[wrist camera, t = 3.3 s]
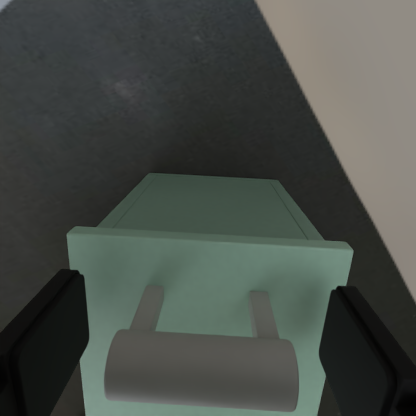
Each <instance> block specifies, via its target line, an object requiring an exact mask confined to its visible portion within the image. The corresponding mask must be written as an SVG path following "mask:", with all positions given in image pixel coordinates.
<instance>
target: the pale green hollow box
mask: <svg viewBox="0 0 416 416" xmlns="http://www.w3.org/2000/svg"><path fill="white" fill-rule="evenodd" d="M97 227H98V228H116V229H133V230H150V231H167V232H184V233H202V234H219V235H236V236H253V237H271V238H288V239H305V240H322V241H325V240H324V239H323V238H322V236H321V235H320V234H319V233H318V231H317V230H316V229H315V227H314V226H313V225H312V224H311V222H310V221H309V220H308V218H307V217H306V216H305V215H304V213H303V212H302V211H301V209H300V208H299V207H298V205H297V204H296V203H295V202H294V200H293V199H292V198H291V196H290V195H289V194H288V193H287V191H286V190H285V189H284V187H283V186H282V185H281V184H280V182H279V181H278V180H271V179H253V178H236V177H218V176H200V175H182V174H164V173H149V174H148V175H147V176H146V177H145V178H144V179H143V180H142V181H141V182H140V183H139V184H138V185H137V186H136V187H135V188H134V189H133V190H132V191H131V192H130V193H129V194H128V195H127V196H126V197H125V198H124V199H123V200H122V201H121V202H120V203H119V204H118V205H117V206H116V207H115V208H114V209H113V210H112V211H111V212H110V214H109V215H108V216H107V217H106V218H105V219H104V220H103V221H102V222H101V223H100V224H99V225H98V226H97Z"/></svg>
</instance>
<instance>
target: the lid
mask: <svg viewBox="0 0 416 416" xmlns="http://www.w3.org/2000/svg"><path fill="white" fill-rule="evenodd" d="M67 243H68V253H69V262H70V270H78V271H79V272H80V274H83V275H84V278H85V289H86V300H87V312H88V323H89V342H88V345H87V347H86V349H85V351H84V353H83V355H82V357H81V358H80V366H81V376H82V385H83V394H84V404H85V413H86V416H317V413H318V408H319V404H320V399H321V395H322V390H323V386H324V381H325V377H326V374H325V372H324V369H323V367H322V364H321V362H320V359H319V346H320V341H321V336H322V332H323V327H324V322H325V317H326V312H327V307H328V302H329V298H330V293H331V290H333V289H336V287H337V286H346V283H347V279H348V274H349V270H350V265H351V261H352V256H353V249H352V248H351V247H350V246H349V245H348V244H347V243H346V242H339V241H322V240H305V239H288V238H271V237H253V236H236V235H219V234H202V233H184V232H167V231H150V230H133V229H116V228H98V227H81V226H75V227H74V228H73V229H71V230H70V231H69V232H68V233H67Z"/></svg>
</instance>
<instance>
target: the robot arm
mask: <svg viewBox="0 0 416 416" xmlns="http://www.w3.org/2000/svg"><path fill="white" fill-rule="evenodd" d="M88 342H89V323H88V312H87V300H86V289H85V278H84V275H83V274H80V272H79V271H78V270H70V269H61V270H60V271H59V272H58V273H57V274H56V275H55V276H54V277H53V278H52V279H51V280H50V281H49V282H48V283H47V284H46V285H45V286H44V287H43V288H42V289H41V291H40V292H39V293H38V294H37V295H36V296H35V297H34V298H33V299H32V300H31V301H30V302H29V303H28V304H27V305H26V306H25V307H24V308H23V310H22V311H21V312H20V313H19V314H18V315H17V316H16V317H15V318H14V319H13V320H12V321H11V322H10V323H9V324H8V325H7V326H6V327H5V329H4V330H3V331H2V332H1V333H0V416H50V414H51V412H52V410H53V409H54V407H55V405H56V403H57V401H58V399H59V397H60V396H61V394H62V392H63V390H64V388H65V386H66V384H67V383H68V381H69V379H70V377H71V375H72V373H73V371H74V370H75V368H76V366H77V364H78V362H79V360H80V358H81V357H82V355H83V353H84V351H85V349H86V347H87V345H88ZM319 359H320V362H321V364H322V367H323V369H324V372H325V374H326V377H327V379H328V382H329V384H330V387H331V389H332V392H333V394H334V397H335V400H336V402H337V405H338V407H339V410H340V412H341V415H342V416H416V366H415V365H414V364H413V362H412V361H411V360H410V358H409V357H408V356H407V354H406V353H405V352H404V350H403V349H402V348H401V346H400V345H399V344H398V342H397V341H396V340H395V338H394V337H393V336H392V334H391V333H390V332H389V330H388V329H387V328H386V326H385V325H384V324H383V322H382V321H381V320H380V319H379V317H378V316H377V315H376V313H375V312H374V311H373V309H372V308H371V307H370V305H369V304H368V303H367V301H366V300H365V299H364V297H363V296H362V295H361V293H360V292H359V291H358V289H357V288H356V287H354V286H337V287H336V289H333V290H331V293H330V298H329V302H328V307H327V312H326V317H325V322H324V327H323V332H322V336H321V341H320V346H319Z"/></svg>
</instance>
